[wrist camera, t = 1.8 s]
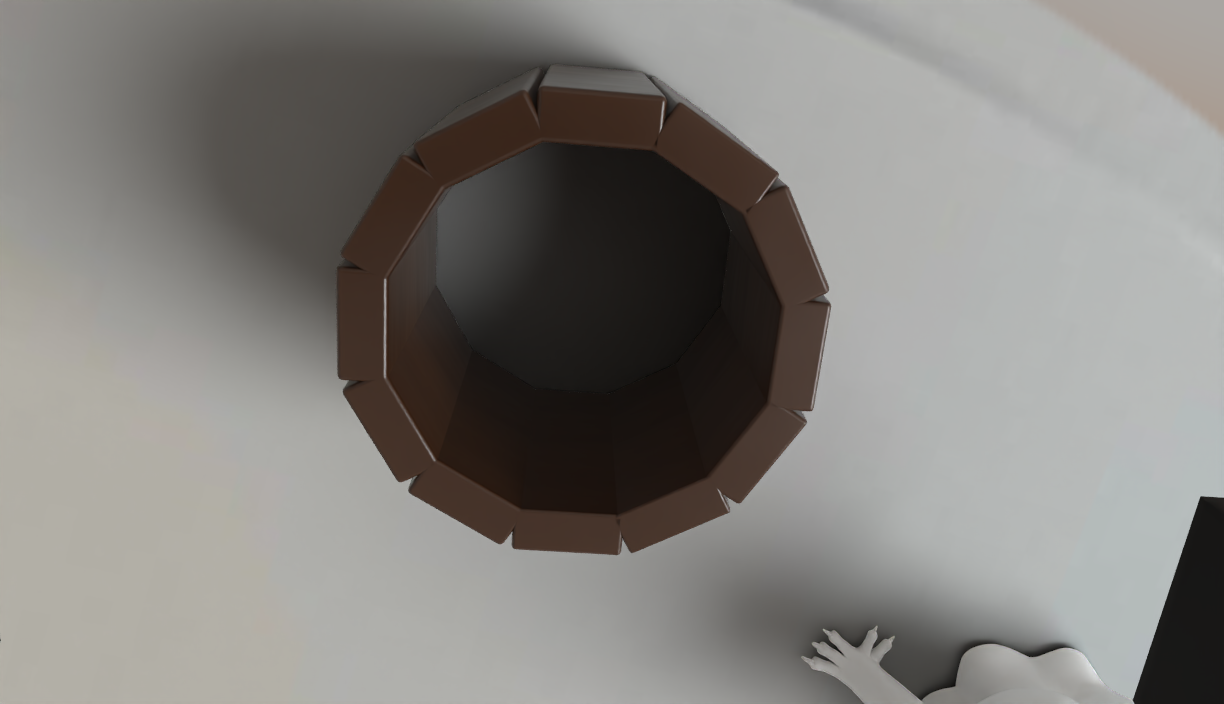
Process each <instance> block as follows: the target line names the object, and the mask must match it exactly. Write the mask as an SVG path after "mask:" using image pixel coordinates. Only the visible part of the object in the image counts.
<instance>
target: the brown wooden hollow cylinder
mask: <svg viewBox="0 0 1224 704" xmlns="http://www.w3.org/2000/svg"><path fill="white" fill-rule="evenodd" d="M542 142H549V143H561V144H573V145H585V146H597V147H609V148H621V149H633V150H646V151H654V152H655V153H657V154H658V155H659V156H661V157H662V158H664V159H665V160H666V161H668V162H669V163H671V164H672V165H673V166H675V167H676V168H678V169H679V170H680V171H682V172H683V173H685V174H686V175H688V176H689V177H690V178H692V179H693V180H695V181H696V182H697V183H699V184H700V185H702V186H703V187H704V188H706V189H707V190H709V191H710V192H711V193H713V194H714V195H715V196H716V198H717V201H718V203H719V205H720V208H721V210H722V212H723V215H724V217H725V219H726V222H727V224H728V226H729V228H730V231H731V232H730V240H729V247H728V255H727V263H726V270H725V278H724V285H723V293H722V301H721V306H720V307H719V309H718V310H717V311H716V312H715V314H714V315H713V316H712V318H711V319H710V320H709V322H708V323H707V324H706V326H705V327H704V328H703V329H702V331H701V332H700V333H699V335H698V336H697V337H696V339H695V340H694V341H693V343H692V344H691V345H690V346H689V348H688V349H687V350H686V352H685V353H684V354H683V356H682V357H681V358H680V360H679V361H678V362H677V363H676V364H674V365H672V366H670V367H667V368H665V369H663V370H661V371H658V372H656V373H654V374H652V375H649V376H647V377H645V378H643V379H640V380H638V381H636V382H634V383H631V384H629V385H627V386H625V387H622V388H620V389H618V390H616V391H613V392H611V393H609V394H604V393H589V392H574V391H559V390H544V389H535V388H533V387H531V386H530V385H528V384H527V383H525V382H523V381H522V380H520V379H518V378H517V377H515V376H514V375H512V374H510V373H509V372H507V371H506V370H504V369H502V368H501V367H499V366H497V365H496V364H494V363H493V362H491V361H489V360H488V359H486V358H485V357H483V356H481V355H480V354H478V353H476V352H475V351H473V350H472V349H471V347H470V345H469V343H468V342H467V340H466V338H465V336H464V334H463V333H462V331H461V329H460V327H459V325H458V324H457V322H456V320H455V318H454V316H453V315H452V313H451V311H450V309H449V307H448V306H447V304H446V302H445V300H444V299H443V297H442V295H441V293H440V291H439V290H438V288H437V286H436V255H437V209H438V207H439V205H440V204H441V202H442V201H443V199H444V198H445V196H446V194H447V193H448V191H449V190H450V188H451V187H452V186H453V185H455V184H458V183H460V182H462V181H464V180H466V179H468V178H470V177H472V176H474V175H476V174H478V173H480V172H482V171H484V170H486V169H488V168H491V167H493V166H495V165H497V164H499V163H501V162H503V161H505V160H507V159H509V158H511V157H513V156H515V155H517V154H519V153H521V152H524V151H526V150H528V149H530V148H532V147H534V146H536V145H538V144H540V143H542ZM778 176H779V174H778V172H777V171H776V170H775V169H773V168H772V167H771V166H770V165H769V164H767V163H766V162H765V161H764V160H763V159H762V158H760V157H759V156H758V155H757V154H756V153H754V152H753V151H752V150H751V149H750V148H749V147H747V146H746V145H745V144H744V143H743V142H741V141H740V140H739V139H738V138H737V137H736V136H734V135H733V134H732V133H731V132H730V131H729V130H727V129H726V128H725V127H723V126H722V125H721V124H719V123H718V122H717V121H715V120H714V119H712V118H711V117H710V116H708V115H707V114H706V113H704V112H703V111H702V110H700V109H699V108H697V107H696V106H695V105H693V104H692V103H691V102H689V101H688V100H687V99H685V98H684V97H682V96H681V95H680V94H678V93H677V92H676V91H674V90H673V89H672V88H670V87H669V86H667V85H666V84H665V83H663V82H662V81H661V80H659V79H658V78H656V77H655V76H653V77H651V79H650V80H649V79H648V78H647V77H646V75H645V74H644V73H642V72H640V71H628V70H617V69H605V68H594V67H582V66H571V65H560V64H552V65H550V67H549V69H548V71H547V73H546V75H545V74H544V72H543V70H542V69H541V68H540V67H536V68H534V69H532V70H530V71H528V72H526V73H524V74H522V75H520V76H518V77H516V78H514V79H512V80H510V81H508V82H506V83H504V84H502V85H500V86H498V87H496V88H494V89H492V90H490V91H487V92H485V93H483V94H481V95H479V96H477V97H475V98H473V99H471V100H469V101H467V102H465V103H463V104H461V105H459V106H458V107H457V108H456V109H454V110H453V111H452V112H451V113H450V114H448V115H447V116H446V117H445V118H443V119H442V120H441V121H440V122H439V123H437V124H436V125H435V126H434V127H432V128H431V129H430V130H429V131H428V132H426V133H425V134H424V135H423V136H421V137H420V138H419V139H418V140H417V141H416V142H415V143H414V144H413V145H412V146H411V147H409V148H408V149H407V150H406V151H405V152H403V153H402V154H401V155H400V156H399V157H398V159H397V160H396V162H395V164H394V165H393V167H392V169H391V170H390V172H389V173H388V175H387V177H386V178H385V180H384V182H383V183H382V185H381V186H380V188H379V190H378V191H377V193H376V195H375V196H374V198H373V199H372V201H371V203H370V204H369V206H368V208H367V209H366V211H365V212H364V214H363V216H362V217H361V219H360V221H359V222H358V224H357V225H356V227H355V229H354V230H353V232H352V234H351V235H350V237H349V238H348V240H347V242H346V243H345V245H344V247H343V248H342V250H341V254H340V255H341V256H342V257H343V258H344V261H343V262H342V263H341V264H340V265H339V266H338V267H337V269H336V314H337V374H338V377H339V379H342V380H349V381H348V383H347V384H346V386H345V387H344V389H343V394H344V396H345V398H346V399H347V401H348V402H349V404H350V406H351V407H352V409H353V410H354V412H355V414H356V415H357V417H358V418H359V420H360V422H361V423H362V425H363V426H364V428H365V430H366V431H367V433H368V434H369V436H370V438H371V439H372V441H373V443H374V444H375V446H376V447H377V449H378V451H379V452H380V454H381V455H382V457H383V459H384V460H385V462H386V463H387V465H388V467H389V468H390V470H391V471H392V473H393V475H394V476H395V478H396V479H397V481H398V482H404V481H406V480H408V479H410V478H412V480H411V483H410V486H409V489H408V491H409V493H410V494H412V495H414V496H415V497H417V498H419V499H421V500H422V501H424V502H426V503H428V504H429V505H431V506H433V507H435V508H436V509H438V510H440V511H442V512H443V513H445V514H447V515H449V516H450V517H452V518H454V519H456V520H457V521H459V522H461V523H463V524H464V525H466V526H468V527H470V528H471V529H473V530H475V531H477V532H478V533H480V534H482V535H484V536H485V537H487V538H489V539H491V540H492V541H494V542H496V543H498V544H502V543H504V542H505V540H506V539H507V538H508V536H509V535H510V534H511V532H512V547H513V548H514V549H522V550H539V551H557V552H574V553H592V554H609V555H618V554H620V552H621V546H622V538H623V540H624V542H625V544H626V546H627V547H628V549H629V551H630V552H631V553H634V552H636V551H639V550H641V549H644V548H646V547H648V546H651V545H653V544H655V543H658V542H660V541H663V540H665V539H667V538H670V537H672V536H674V535H677V534H679V533H682V532H684V531H686V530H689V529H691V528H694V527H696V526H698V525H701V524H703V523H705V522H708V521H710V520H713V519H715V518H717V517H720V516H722V515H724V514H727V513H729V512H730V507H729V504H728V500H727V497H728V498H729V499H731V500H733V501H734V502H736V503H739V504H740V503H741V502H742V501H743V500H744V498H745V497H746V496H747V495H748V494H749V492H750V491H751V490H752V489H753V488H754V486H755V485H756V484H757V483H758V482H759V480H760V479H761V478H762V477H763V476H764V474H765V473H766V472H767V471H768V470H769V468H770V467H771V466H772V465H773V464H774V462H775V461H776V460H777V459H778V458H779V456H780V455H781V454H782V453H783V451H784V450H785V449H786V448H787V447H788V445H789V444H790V443H791V442H792V441H793V439H794V438H795V437H796V436H797V435H798V433H799V432H800V431H801V430H802V429H803V427H804V426H805V425H806V423H807V421H806V419H805V417H804V415H803V413H802V411H812V410H813V408H814V403H815V397H816V391H817V385H818V380H819V374H820V368H821V362H822V357H823V351H824V345H825V339H826V334H827V328H828V322H829V316H830V310H831V304H830V302H829V301H828V300H827V299H826V298H825V296H824V294H826V293H827V292H828V291H829V286H828V283H827V281H826V278H825V276H824V273H823V271H822V268H821V266H820V263H819V261H818V259H817V256H816V254H815V251H814V249H813V246H812V244H811V241H810V239H809V236H808V234H807V231H806V229H805V226H804V224H803V221H802V219H801V216H800V214H799V211H798V209H797V206H796V204H795V201H794V199H793V196H792V194H791V191H790V189H789V187H788V186H787V185H786V184H784V183H783V182H782V181H781V180H780V179H779V178H778Z"/></svg>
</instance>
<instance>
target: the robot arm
mask: <svg viewBox="0 0 1224 704" xmlns="http://www.w3.org/2000/svg"><path fill="white" fill-rule="evenodd" d="M0 641H1V640H0ZM1133 702H1134V703H1135V704H1224V498H1217V497H1202V496H1201V497H1200V500H1199V503H1198V506H1197V509H1196V512H1195V515H1194V518H1193V521H1192V524H1191V527H1190V530H1189V533H1188V536H1187V539H1186V542H1185V545H1184V548H1183V551H1182V554H1181V557H1180V560H1179V563H1178V566H1177V569H1176V572H1175V575H1174V578H1173V581H1172V584H1171V587H1170V590H1169V593H1168V596H1167V599H1166V602H1165V605H1164V608H1163V611H1162V614H1161V617H1160V620H1159V623H1158V626H1157V629H1156V632H1155V635H1154V638H1153V641H1152V644H1151V647H1150V650H1149V653H1148V656H1147V659H1146V662H1145V665H1144V668H1143V671H1142V674H1141V677H1140V680H1139V683H1138V686H1137V689H1136V692H1135V695H1134V698H1133Z"/></svg>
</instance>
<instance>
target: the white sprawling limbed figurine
mask: <svg viewBox="0 0 1224 704" xmlns="http://www.w3.org/2000/svg"><path fill="white" fill-rule="evenodd" d="M877 628H878V625H877V626H875V628H874V629H873V630H869V631H868V633H867V636H866V638H865V640H864V641H863V643H862V644H861V645H860V646H859V647H853V646H852V645H850V644H849V643H848V642H847V641H845V640H844V639H843V638H842V637H841V636H840V635H839V634H838V633H837V632H836V631H835V630H832V631H831V632H830V631H827V630H825V629H822V630H823V631H824V633H826V634H827V635H828V638H829V640H830V641H831V642H832V643H833V644H835V645H836V646H837V648H838V649H839V650H840V651H841V652H842V653H843V654H844V655H842V654H841V653H840V652H838V651H837V650H835V649H833V648H831V647H830V646H829V645H827V644H826V643H825V642H820V643H816V642H812V645H813V646H814V647H815V648H817V651H818V653H819V654H821V655H823V656H825V657H827V658H828V659H830V660H831V661H832V662H834V663H835V664H834V663H832V662H830V661H826V660H823V659H821V658H819V657H812V659H810V658H806V657H805V656H802V659H803V660H804V661H805V662H807V663H808V664H809V665H810V667H811V668H812V669H814V670H818V671H823V672H825V673H827V674H829V675H832V676H834V677H836V678H837V679H839V680H840V681H842V682H843V683H844V684H845V685H847V686H848V687H849V688H850V689H851V690H852V691H853V692H854V693H855V694H856V695H857V696H858V697H859V698H860V699H861V701H862V702H863V703H864V704H1135V703H1134V702H1133V700H1132V699H1130V698H1128V697H1125V696H1123V695H1120V694H1118V693H1117V692H1115V691H1113V690H1111V689H1110V688H1109V687H1108V686H1107V685H1105V684H1104V683H1103V682H1102V680H1101V679H1100V678H1099V676H1098V675H1097V673H1096V672H1095V670H1094V669H1093V667H1092V665H1091V664H1090V662H1089V661H1088V659H1087V658H1086V657H1085V656H1084V654H1083V653H1081V652H1080V651H1078V650H1075V649H1071V648H1061V649H1057V650H1054V651H1051V652H1048V653H1046V654H1043V655H1041V656H1038V657H1028V656H1026V655H1024V654H1021V653H1019V652H1017V651H1015V650H1013V649H1010V648H1008V647H1005V646H1001V645H997V644H985V645H980V646H976V647H973V648H971V649H970V650H968V651H967V652H966V653H965V654H964V655H963V657H962V658H961V662H960V665H959V669H958V673H957V679H956V686H955V687H951V688H945V689H941V690H938V691H935V692H932V693H930V694H929V695H927V696H926V697H925V698H923V700H922V701H921V700H919V699H918V698H917V697H916V696H915V695H914V694H912V693H911V692H910V691H909V690H908V689H907V688H905V687H904V686H903V685H902V684H901V683H899V682H898V681H897V680H896V679H894V678H893V677H892V676H891V675H889V674H888V673H887V672H886V671H885V670H883V669H882V668H881V666H880V664H879V663H880V661H881V659H882V658H883V656H884V654H885V653H886V652H888V651H889V650H890V649H891V648H892V642H893V639H894V638H895V636H892V637H891V638H889V639H883V640H882V641H881V642H880V643H879V644H878V645H877V646H876V647H875V648H873V649H872V647H873V644H874V642H875V641H876V639H877V637H878V636H877V633H876V631H877Z"/></svg>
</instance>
